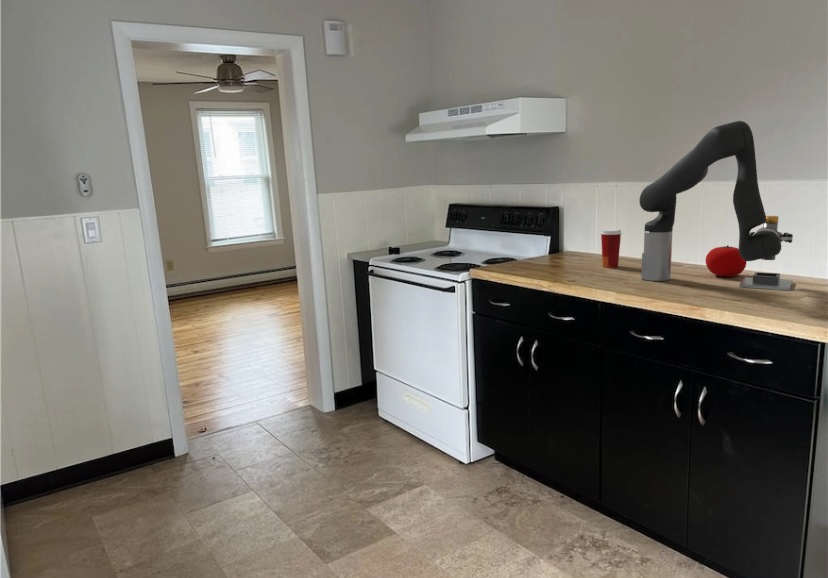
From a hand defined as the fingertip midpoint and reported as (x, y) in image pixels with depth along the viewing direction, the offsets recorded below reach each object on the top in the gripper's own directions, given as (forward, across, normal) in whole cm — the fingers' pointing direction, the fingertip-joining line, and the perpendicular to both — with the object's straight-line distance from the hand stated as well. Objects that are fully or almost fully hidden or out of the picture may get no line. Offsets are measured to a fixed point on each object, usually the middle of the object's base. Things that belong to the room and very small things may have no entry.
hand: (770, 234), depth 199 cm
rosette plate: (-2, 0, +16) cm, 16 cm away
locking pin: (-3, 0, +8) cm, 8 cm away
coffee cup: (+16, +57, +16) cm, 62 cm away
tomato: (+11, +14, +16) cm, 24 cm away
